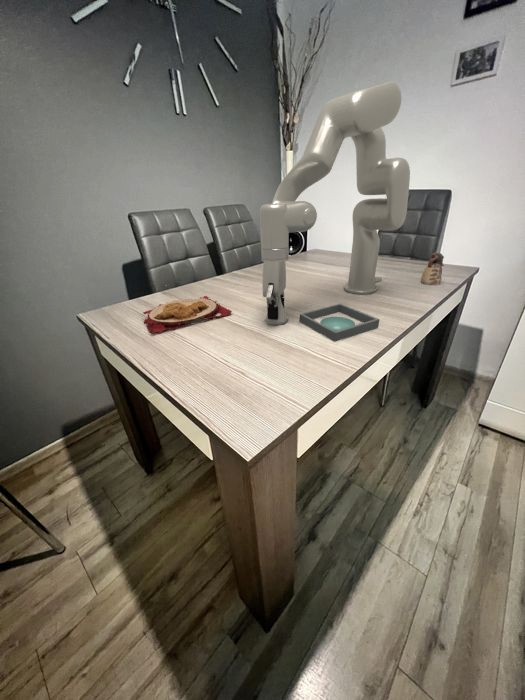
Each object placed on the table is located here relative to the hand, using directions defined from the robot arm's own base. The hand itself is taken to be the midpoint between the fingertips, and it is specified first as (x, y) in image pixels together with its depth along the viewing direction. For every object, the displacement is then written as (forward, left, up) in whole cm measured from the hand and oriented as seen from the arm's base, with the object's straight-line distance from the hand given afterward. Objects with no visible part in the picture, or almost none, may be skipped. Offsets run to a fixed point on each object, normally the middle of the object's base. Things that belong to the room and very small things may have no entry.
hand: (276, 313), depth 84 cm
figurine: (-73, +2, -3) cm, 73 cm away
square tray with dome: (-14, +12, -2) cm, 19 cm away
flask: (0, 0, -3) cm, 3 cm away
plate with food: (+23, -24, -3) cm, 34 cm away
